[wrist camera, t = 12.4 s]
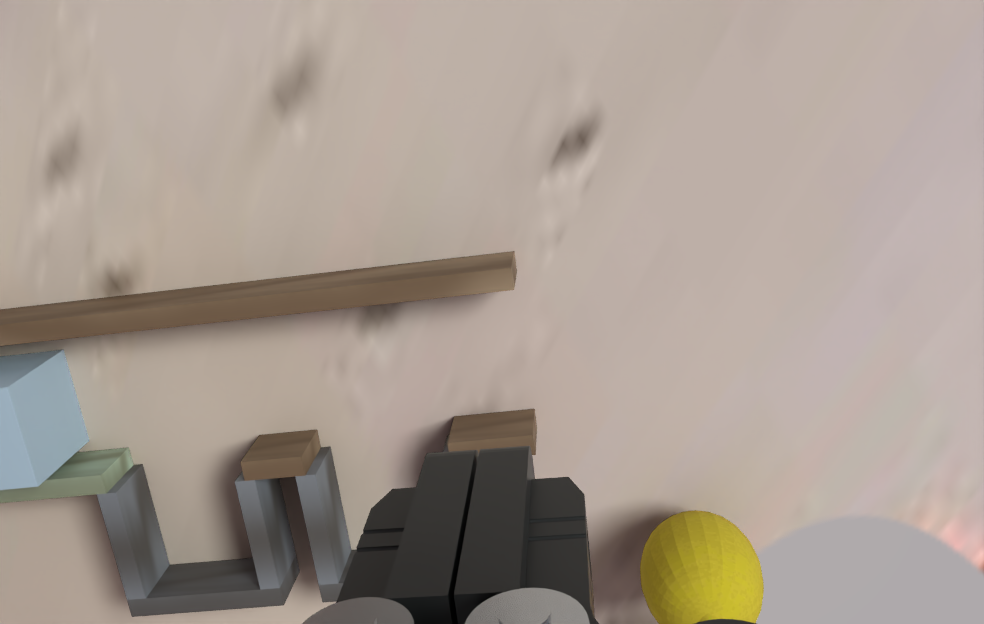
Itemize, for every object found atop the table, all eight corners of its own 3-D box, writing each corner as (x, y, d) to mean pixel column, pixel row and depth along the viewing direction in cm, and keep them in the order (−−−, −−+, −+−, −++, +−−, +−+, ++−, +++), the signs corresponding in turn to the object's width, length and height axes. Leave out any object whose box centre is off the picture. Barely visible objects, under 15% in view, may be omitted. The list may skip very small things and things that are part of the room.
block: (-29, 359, 47) (-96, 397, 42) (64, 348, 46) (7, 387, 41) (-1, 448, 48) (-62, 495, 43) (90, 439, 48) (38, 486, 43)
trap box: (-64, 316, 46) (-105, 336, 43) (514, 251, 43) (511, 267, 40) (26, 592, 51) (-6, 626, 48) (552, 551, 48) (552, 584, 45)
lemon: (652, 590, 48) (670, 698, 40) (619, 500, 46) (631, 594, 39) (757, 562, 47) (796, 667, 39) (727, 468, 46) (761, 559, 38)
